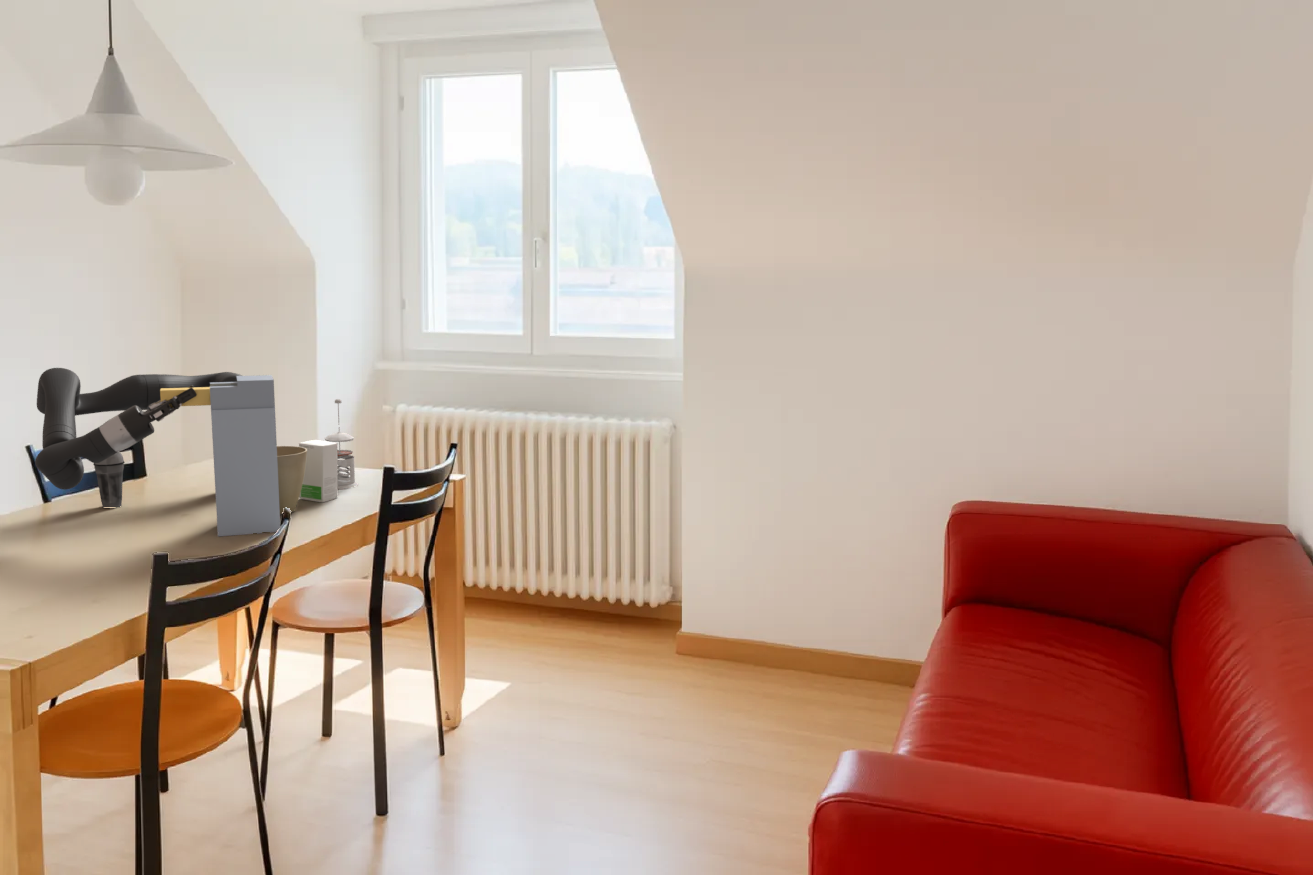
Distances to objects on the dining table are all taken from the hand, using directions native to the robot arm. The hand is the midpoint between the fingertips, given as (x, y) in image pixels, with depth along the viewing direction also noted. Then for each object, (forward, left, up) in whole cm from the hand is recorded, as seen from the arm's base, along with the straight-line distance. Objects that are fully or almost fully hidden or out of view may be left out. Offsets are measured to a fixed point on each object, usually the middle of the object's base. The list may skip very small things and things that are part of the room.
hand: (194, 390), depth 258 cm
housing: (+7, +8, -34) cm, 36 cm away
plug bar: (+3, +4, -3) cm, 6 cm away
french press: (-10, +55, -34) cm, 66 cm away
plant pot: (0, +24, -34) cm, 42 cm away
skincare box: (-2, +40, -34) cm, 53 cm away
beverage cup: (-40, +5, -34) cm, 53 cm away
